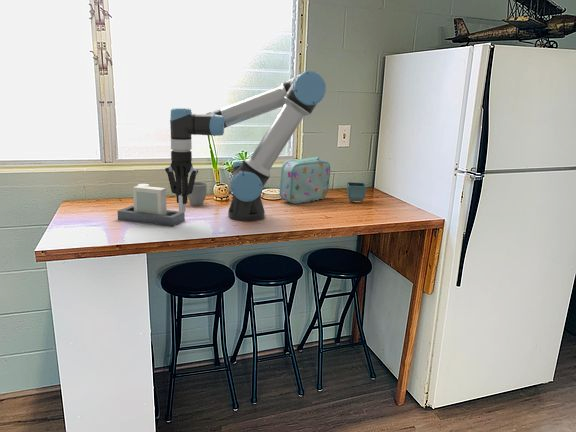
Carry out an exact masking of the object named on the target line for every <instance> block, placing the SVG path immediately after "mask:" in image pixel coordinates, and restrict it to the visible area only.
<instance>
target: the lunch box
mask: <svg viewBox="0 0 576 432" xmlns="http://www.w3.org/2000/svg"><path fill="white" fill-rule="evenodd" d="M330 174H331V164H330V163H329V162H328V161H326V160H323V159H321V158H320V157H318V156H313V157H307V158H298V159H287V160H286V161H284V162H283V164H282V166H281V171H280V182H279V196H280V199H281V200H282V201H287V202H288V203H291V204H294V205H297V204H304V203H312V202H311V201H313V202H315V200H317V201H320V200H319V199H322V198H324V199H325V198H326V196H327V195H328V191H329V187H330V186H329V185H330V177H331V175H330ZM322 200H323V199H322ZM303 202H304V203H303Z"/></svg>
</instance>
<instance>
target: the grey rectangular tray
mask: <svg viewBox="0 0 576 432" xmlns="http://www.w3.org/2000/svg"><path fill="white" fill-rule="evenodd" d="M166 211H167V215H159V214H151V213H142V212H134V205H129V206H126V207H125V208H122V209H120V210H119V209H118V210H117V221H125V222H126V221H127V222H133V223H142V224H149V225H156V226H157V225H158V226H164V227H175V226H177V225H178V224H180V223H183V222H185V220H186V219H185V217H186V215H185V213H186V211H185V212H183V213H180V212H179V210H178V211H177V210H171V209H166Z"/></svg>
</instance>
